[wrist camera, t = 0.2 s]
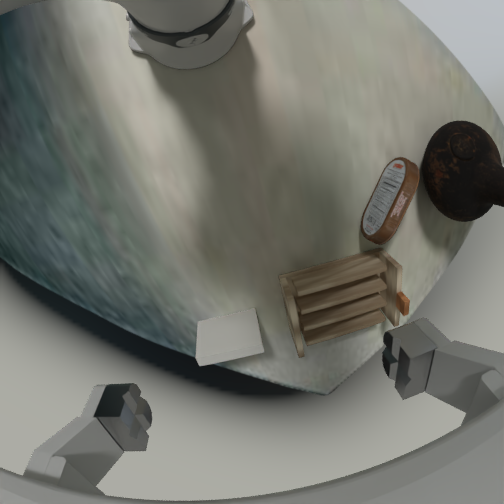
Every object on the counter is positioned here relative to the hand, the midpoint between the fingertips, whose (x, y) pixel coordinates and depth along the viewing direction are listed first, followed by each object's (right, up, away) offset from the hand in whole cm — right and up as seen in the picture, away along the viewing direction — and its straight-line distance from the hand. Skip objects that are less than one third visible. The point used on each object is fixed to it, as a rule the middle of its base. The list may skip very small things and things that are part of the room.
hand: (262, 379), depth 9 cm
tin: (+21, +14, +40) cm, 47 cm away
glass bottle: (+36, +21, +38) cm, 56 cm away
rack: (+15, -3, +46) cm, 49 cm away
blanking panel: (-5, -9, +47) cm, 48 cm away
